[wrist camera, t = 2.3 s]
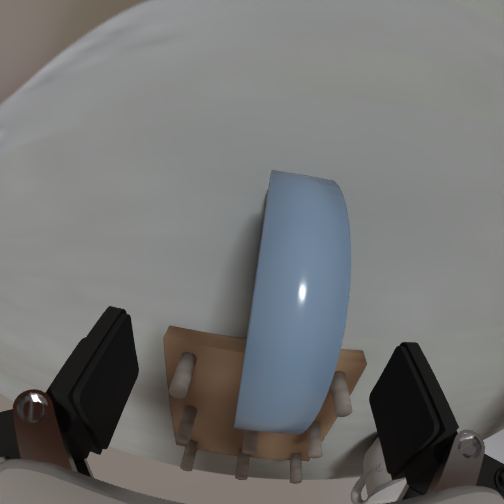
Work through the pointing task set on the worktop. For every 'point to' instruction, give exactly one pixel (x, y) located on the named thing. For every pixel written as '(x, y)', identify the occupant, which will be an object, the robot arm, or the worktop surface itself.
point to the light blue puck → (295, 305)
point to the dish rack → (225, 401)
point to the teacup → (376, 479)
